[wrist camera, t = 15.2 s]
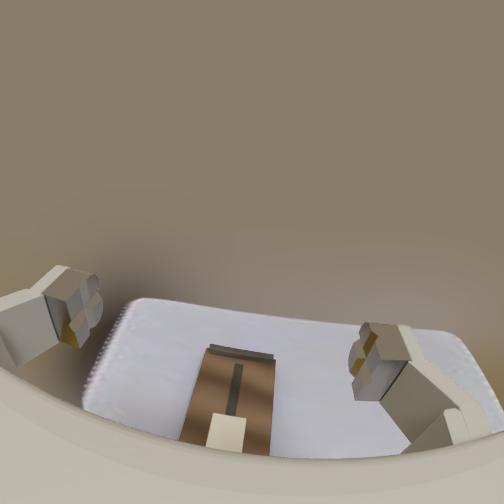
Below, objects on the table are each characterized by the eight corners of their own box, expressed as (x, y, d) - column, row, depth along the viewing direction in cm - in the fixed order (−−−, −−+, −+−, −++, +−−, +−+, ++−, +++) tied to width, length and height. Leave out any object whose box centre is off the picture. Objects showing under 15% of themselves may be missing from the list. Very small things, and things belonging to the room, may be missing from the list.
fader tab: (244, 508, 20) (267, 475, 15) (183, 497, 20) (173, 459, 15) (250, 460, 25) (272, 405, 20) (194, 451, 26) (193, 391, 20)
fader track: (255, 555, 16) (260, 554, 15) (155, 537, 17) (151, 534, 15) (273, 368, 41) (277, 355, 40) (206, 356, 41) (207, 343, 40)
